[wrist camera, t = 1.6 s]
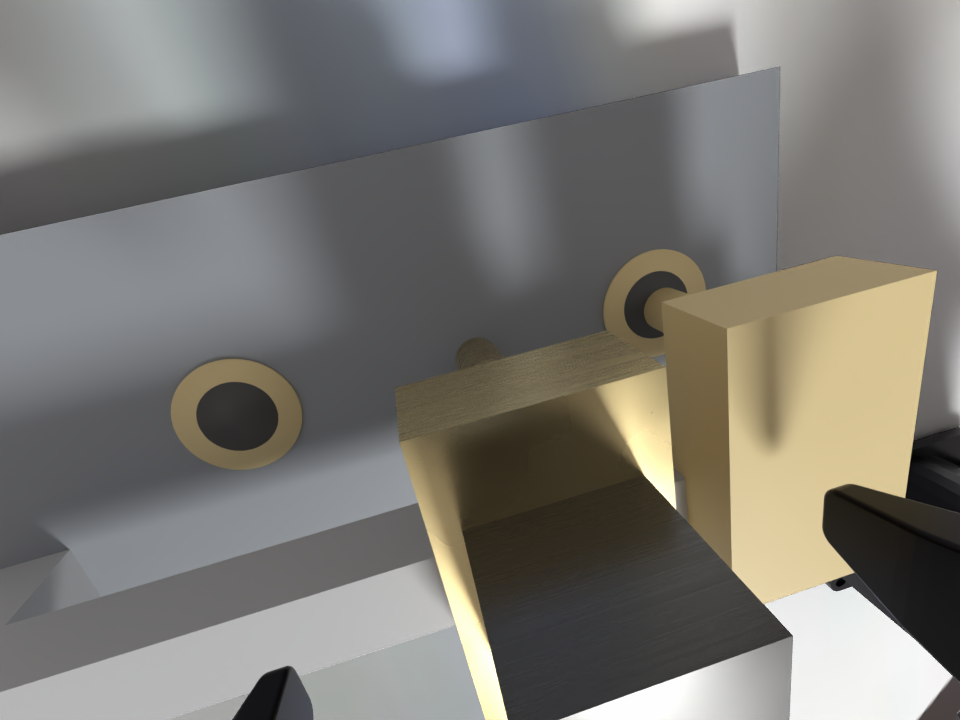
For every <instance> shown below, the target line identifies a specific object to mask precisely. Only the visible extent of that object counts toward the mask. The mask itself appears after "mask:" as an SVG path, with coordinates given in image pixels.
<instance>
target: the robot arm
mask: <svg viewBox="0 0 960 720" xmlns="http://www.w3.org/2000/svg"><path fill="white" fill-rule="evenodd" d="M822 530H823V533H824V536H825V538H826V539H827V541H828V542H829V544H830V545H831V546H832V547H833V548H834V549H835V551H836V552H837V553H838V554H839V555H840V556H841V557H842V559H843V560H844V561H845V562H846V563H847V564H848V565H849V567H850V568H851V569H852V570H853V571H854V572H855V573H852V574H849V575H846V576H843V577H840V578H838V579H835V580H832V581H829V582H826V583H825V584H827V585H828V586H829V587H830V588H831V589H832V590H833V591H840V590H843V589H846V588H849V587H853V588H855V589H856V590H857V591H858V592H859V593H860V594H862V595H863V596H864V597H865V598H866V599H868V600H869V601H870V602H871V603H872V604H874V605H875V606H876V607H877V608H878V609H879V610H881V611H882V612H883V613H884V614H885V615H887V616H888V617H889V618H890V619H891V620H893V621H894V622H895V623H896V624H897V625H898V626H900V627H901V628H902V629H903V630H904V631H906V632H907V633H908V634H909V635H910V636H912V637H913V638H914V639H915V640H916V641H917V642H918V643H919V644H920V645H921V646H922V647H923V648H925V649H926V650H927V651H928V652H929V653H930V654H931V655H932V656H933V657H934V658H935V659H936V660H937V661H938V662H939V663H940V664H941V665H942V666H943V667H944V668H945V669H946V670H947V671H948V672H949V673H950V674H951V675H952V676H953V677H955V679H956V680H957V681H958V682H959V683H960V427H958V428H955V429H952V430H949V431H946V432H942V433H939V434H936V435H933V436H930V437H927V438H924V439H920V440H917V441H914V442H913V446H912V453H911V460H910V467H909V474H908V481H907V488H906V495H905V498H903V497H899V496H895V495H892V494H888V493H885V492H881V491H877V490H874V489H870V488H867V487H863V486H859V485H855V484H845V485H842V486H838V487H835V488H832V489H829V490H828V491H827V492H826V493H825V495H824V503H823V519H822ZM957 714H958V716H959V717H960V710H959V711H958V712H957ZM232 720H313V708H312V704H311V700H310V698H309V696H308V694H307V692H306V690H305V688H304V686H303V684H302V682H301V680H300V678H299V676H298V674H297V672H296V670H295V669H294V668H293V667H292V666H285V667H282V668H278V669H275V670H272V671H269V672H267V673H265V674H263V675H262V676H261V677H260V679H259V680H258V681H257V683H256V684H255V686H254V688H253V689H252V691H251V692H250V694H249V695H248V697H247V698H246V700H245V701H244V703H243V704H242V706H241V707H240V709H239V710H238V712H237V713H236V715H235V716H234V718H233V719H232Z"/></svg>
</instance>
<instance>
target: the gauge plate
mask: <svg viewBox="0 0 960 720" xmlns="http://www.w3.org/2000/svg"><path fill="white" fill-rule="evenodd" d="M779 100H780V67H776V68H771V69H767V70H762V71H757V72H753V73H748V74H743V75H739V76H734V77H730V78H725V79H720V80H716V81H711V82H706V83H702V84H697V85H692V86H688V87H683V88H679V89H674V90H669V91H665V92H660V93H655V94H651V95H646V96H641V97H637V98H632V99H628V100H623V101H618V102H614V103H609V104H604V105H600V106H595V107H591V108H586V109H581V110H577V111H572V112H567V113H563V114H558V115H553V116H549V117H544V118H540V119H535V120H530V121H526V122H521V123H516V124H512V125H507V126H502V127H498V128H493V129H489V130H484V131H479V132H475V133H470V134H465V135H461V136H456V137H451V138H447V139H442V140H438V141H433V142H428V143H424V144H419V145H414V146H410V147H405V148H401V149H396V150H391V151H387V152H382V153H377V154H373V155H368V156H363V157H359V158H354V159H350V160H345V161H340V162H336V163H331V164H326V165H322V166H317V167H312V168H308V169H303V170H299V171H294V172H289V173H285V174H280V175H275V176H271V177H266V178H261V179H257V180H252V181H248V182H243V183H238V184H234V185H229V186H224V187H220V188H215V189H211V190H206V191H201V192H197V193H192V194H187V195H183V196H178V197H173V198H169V199H164V200H160V201H155V202H150V203H146V204H141V205H136V206H132V207H127V208H122V209H118V210H113V211H109V212H104V213H99V214H95V215H90V216H85V217H81V218H76V219H71V220H67V221H62V222H58V223H53V224H48V225H44V226H39V227H34V228H30V229H25V230H21V231H16V232H11V233H7V234H2V235H0V720H169V719H172V718H175V717H178V716H181V715H184V714H187V713H190V712H193V711H196V710H199V709H202V708H205V707H208V706H211V705H214V704H217V703H220V702H223V701H226V700H229V699H233V698H236V697H239V696H242V695H245V694H248V693H250V692H251V691H252V689H253V688H254V686H255V684H256V683H257V681H258V680H259V679H260V677H261V676H262V675H263V674H265V673H267V672H269V671H272V670H275V669H278V668H282V667H285V666H292V667H293V668H294V669H295V670H296V672H297V674H298V676H299V677H300V676H303V675H306V674H309V673H312V672H315V671H318V670H321V669H324V668H327V667H330V666H333V665H336V664H339V663H342V662H345V661H348V660H351V659H354V658H357V657H360V656H364V655H367V654H370V653H373V652H376V651H379V650H382V649H385V648H388V647H391V646H394V645H397V644H400V643H403V642H406V641H409V640H412V639H415V638H418V637H421V636H424V635H427V634H431V633H434V632H437V631H440V630H443V629H446V628H449V627H452V626H455V625H456V623H455V620H454V617H453V613H452V610H451V607H450V604H449V600H448V597H447V594H446V591H445V588H444V584H443V581H442V578H441V575H440V571H439V568H438V565H437V562H436V559H435V555H434V552H433V549H432V546H431V542H430V539H429V536H428V533H427V530H426V526H425V523H424V520H423V517H422V514H421V510H420V507H419V504H418V501H417V497H416V494H415V491H414V488H413V485H412V481H411V478H410V475H409V472H408V468H407V465H406V462H405V459H404V456H403V452H402V449H401V446H400V443H399V431H398V419H397V406H396V394H395V387H399V386H403V385H406V384H410V383H414V382H417V381H421V380H425V379H429V378H432V377H436V376H440V375H443V374H447V373H451V372H455V371H458V369H457V366H456V362H455V357H456V353H457V350H458V348H459V347H460V346H461V345H462V344H463V343H464V342H465V341H467V340H469V339H471V338H476V337H481V338H485V339H488V340H490V341H491V342H492V343H493V344H494V345H495V346H496V347H497V349H498V350H499V352H500V353H501V354H502V356H503V357H504V358H506V357H510V356H514V355H518V354H521V353H525V352H529V351H532V350H536V349H540V348H544V347H547V346H551V345H555V344H558V343H562V342H566V341H569V340H573V339H577V338H581V337H584V336H588V335H592V334H595V333H599V332H603V331H609V332H610V333H612V334H614V335H615V336H617V337H618V338H620V339H622V340H623V341H625V342H626V343H628V344H630V345H631V346H633V347H634V348H636V349H638V350H639V351H641V352H642V353H644V354H646V355H647V356H649V357H650V358H652V359H654V360H655V361H657V362H658V363H660V364H662V365H663V366H665V367H666V374H667V388H668V402H669V416H670V430H671V444H672V458H673V472H674V486H675V500H676V510H677V511H678V512H679V513H680V514H681V515H682V517H683V518H684V519H685V520H686V521H687V522H688V523H689V524H690V525H691V526H692V527H693V528H694V530H695V531H696V532H697V533H698V534H699V535H700V536H701V537H702V538H703V539H704V540H705V541H706V542H707V544H708V545H709V546H710V547H711V548H712V549H713V550H714V551H715V552H716V553H717V554H718V555H719V557H720V558H721V559H722V560H723V561H724V562H725V563H726V564H727V565H728V566H729V567H730V568H731V570H732V571H733V572H734V573H735V574H736V575H737V576H738V577H739V578H740V579H741V580H742V581H743V583H744V584H745V585H746V586H747V587H748V588H749V589H750V590H751V591H752V592H753V593H754V594H755V595H756V597H757V598H758V599H759V600H760V601H761V602H762V603H763V604H766V603H769V602H772V601H774V600H777V599H780V598H783V597H786V596H789V595H792V594H794V593H797V592H800V591H803V590H806V589H809V588H812V587H815V586H817V585H820V584H823V583H826V582H829V581H832V580H835V579H838V578H840V577H843V576H846V575H849V574H852V573H855V572H854V571H853V570H852V569H851V568H850V567H849V565H848V564H847V563H846V562H845V561H844V560H843V559H842V557H841V556H840V555H839V554H838V553H837V552H836V551H835V549H834V548H833V547H832V546H831V545H830V544H829V542H828V541H827V539H826V538H825V536H824V533H823V530H822V519H823V503H824V495H825V493H826V492H827V491H828V490H829V489H832V488H835V487H838V486H842V485H845V484H855V485H859V486H863V487H867V488H870V489H874V490H877V491H881V492H885V493H888V494H892V495H895V496H899V497H903V498H905V495H906V488H907V481H908V474H909V467H910V460H911V453H912V446H913V438H914V431H915V424H916V417H917V410H918V403H919V396H920V389H921V382H922V375H923V367H924V360H925V353H926V346H927V339H928V332H929V325H930V318H931V311H932V304H933V296H934V289H935V282H936V275H937V270H930V269H923V268H917V267H910V266H903V265H896V264H890V263H883V262H876V261H869V260H863V259H856V258H849V257H842V256H833V257H829V258H825V259H822V260H818V261H814V262H810V263H807V264H803V265H799V266H795V267H792V268H788V269H784V270H780V271H777V272H776V267H777V211H778V156H779Z"/></svg>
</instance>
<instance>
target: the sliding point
mask: <svg viewBox="0 0 960 720" xmlns="http://www.w3.org/2000/svg"><path fill="white" fill-rule="evenodd" d="M455 362H456V366H457V369H458V371H455V372H451V373H447V374H443V375H440V376H436V377H432V378H429V379H425V380H421V381H417V382H414V383H410V384H406V385H403V386H399V387H395V394H396V406H397V419H398V431H399V443H400V446H401V449H402V452H403V456H404V459H405V462H406V465H407V468H408V472H409V475H410V478H411V481H412V485H413V488H414V491H415V494H416V497H417V501H418V504H419V507H420V510H421V514H422V517H423V520H424V523H425V526H426V530H427V533H428V536H429V539H430V542H431V546H432V549H433V552H434V555H435V559H436V562H437V565H438V568H439V571H440V575H441V578H442V581H443V584H444V588H445V591H446V594H447V597H448V600H449V604H450V607H451V610H452V613H453V617H454V620H455V623H456V626H457V629H458V633H459V636H460V639H461V642H462V645H463V649H464V652H465V655H466V658H467V662H468V665H469V668H470V671H471V674H472V678H473V681H474V684H475V687H476V691H477V694H478V697H479V700H480V703H481V707H482V710H483V713H484V716H485V719H486V720H789V716H790V692H791V669H792V645H793V636H792V634H791V633H790V632H789V631H788V630H787V629H786V628H785V627H784V626H783V625H782V624H781V623H780V621H779V620H778V619H777V618H776V617H775V616H774V615H773V614H772V613H771V612H770V611H769V610H768V608H767V607H766V606H765V605H764V604H763V603H762V602H761V601H760V600H759V599H758V598H757V597H756V595H755V594H754V593H753V592H752V591H751V590H750V589H749V588H748V587H747V586H746V585H745V584H744V583H743V581H742V580H741V579H740V578H739V577H738V576H737V575H736V574H735V573H734V572H733V571H732V570H731V568H730V567H729V566H728V565H727V564H726V563H725V562H724V561H723V560H722V559H721V558H720V557H719V555H718V554H717V553H716V552H715V551H714V550H713V549H712V548H711V547H710V546H709V545H708V544H707V542H706V541H705V540H704V539H703V538H702V537H701V536H700V535H699V534H698V533H697V532H696V531H695V530H694V528H693V527H692V526H691V525H690V524H689V523H688V522H687V521H686V520H685V519H684V518H683V517H682V515H681V514H680V513H679V512H678V511H677V510H676V500H675V486H674V472H673V458H672V444H671V430H670V416H669V402H668V388H667V374H666V367H665V366H663V365H662V364H660V363H658V362H657V361H655V360H654V359H652V358H650V357H649V356H647V355H646V354H644V353H642V352H641V351H639V350H638V349H636V348H634V347H633V346H631V345H630V344H628V343H626V342H625V341H623V340H622V339H620V338H618V337H617V336H615V335H614V334H612V333H610V332H609V331H603V332H599V333H595V334H592V335H588V336H584V337H581V338H577V339H573V340H569V341H566V342H562V343H558V344H555V345H551V346H547V347H544V348H540V349H536V350H532V351H529V352H525V353H521V354H518V355H514V356H510V357H506V358H504V357H503V356H502V354H501V353H500V352H499V350H498V349H497V347H496V346H495V345H494V344H493V343H492V342H491V341H490V340H488V339H485V338H481V337H476V338H471V339H469V340H467V341H465V342H464V343H463V344H462V345H461V346H460V347H459V348H458V350H457V353H456V357H455Z"/></svg>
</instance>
